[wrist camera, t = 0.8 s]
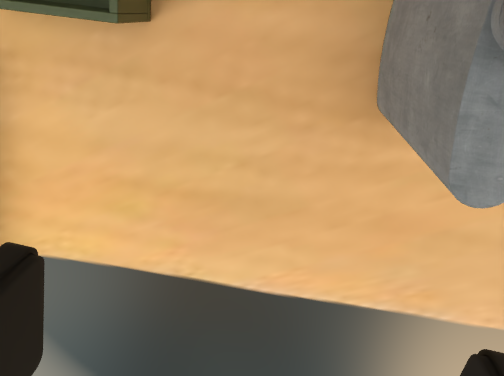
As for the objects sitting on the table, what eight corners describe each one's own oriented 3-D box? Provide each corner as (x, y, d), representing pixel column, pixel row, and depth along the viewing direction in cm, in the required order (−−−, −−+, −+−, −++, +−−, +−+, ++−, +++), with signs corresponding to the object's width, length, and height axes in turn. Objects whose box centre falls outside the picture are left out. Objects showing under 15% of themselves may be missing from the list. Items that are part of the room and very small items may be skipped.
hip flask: (410, 121, 35) (540, 242, 17) (361, 113, 35) (436, 223, 17) (480, -108, 29) (808, -320, 10) (420, -117, 29) (641, -343, 11)
